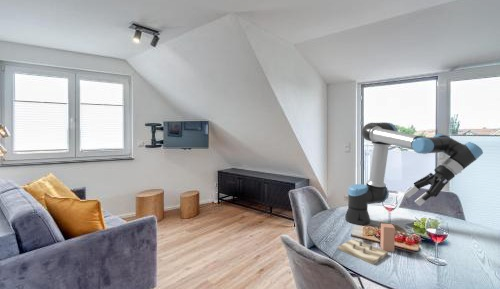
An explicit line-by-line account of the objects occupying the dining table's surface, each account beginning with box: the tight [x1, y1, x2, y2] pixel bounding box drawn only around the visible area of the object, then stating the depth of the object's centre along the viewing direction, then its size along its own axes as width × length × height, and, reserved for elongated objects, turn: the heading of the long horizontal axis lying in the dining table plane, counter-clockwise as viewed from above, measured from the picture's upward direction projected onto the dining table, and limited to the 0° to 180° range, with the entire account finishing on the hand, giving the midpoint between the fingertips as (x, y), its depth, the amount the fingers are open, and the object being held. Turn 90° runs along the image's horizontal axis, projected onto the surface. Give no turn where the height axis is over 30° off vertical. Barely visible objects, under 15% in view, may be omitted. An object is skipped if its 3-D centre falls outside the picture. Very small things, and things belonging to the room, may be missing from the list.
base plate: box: [337, 238, 389, 265], centre depth 123 cm, size 14×18×4 cm
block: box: [379, 223, 396, 252], centre depth 126 cm, size 5×5×12 cm
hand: (411, 199), depth 122 cm, fingers open, 13 cm apart
